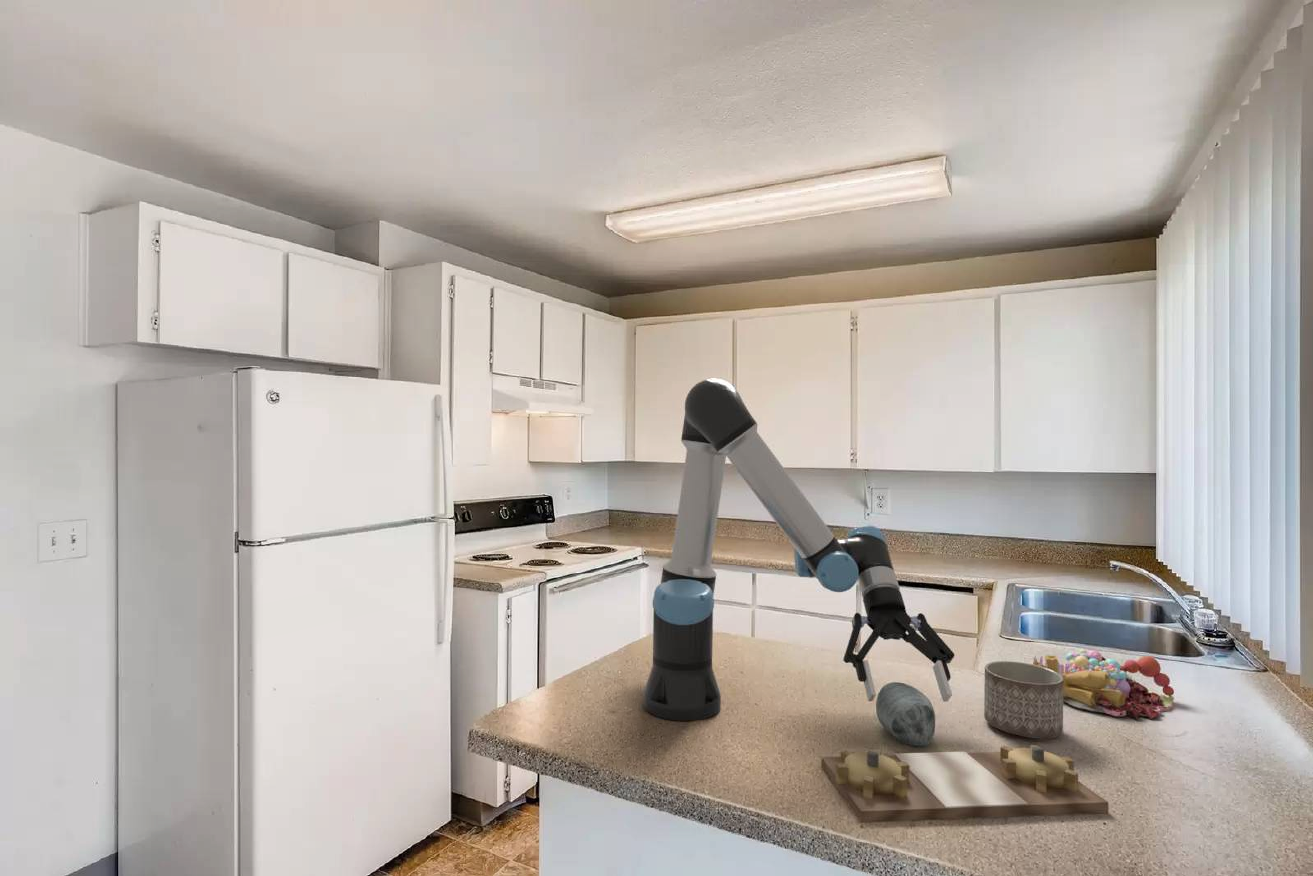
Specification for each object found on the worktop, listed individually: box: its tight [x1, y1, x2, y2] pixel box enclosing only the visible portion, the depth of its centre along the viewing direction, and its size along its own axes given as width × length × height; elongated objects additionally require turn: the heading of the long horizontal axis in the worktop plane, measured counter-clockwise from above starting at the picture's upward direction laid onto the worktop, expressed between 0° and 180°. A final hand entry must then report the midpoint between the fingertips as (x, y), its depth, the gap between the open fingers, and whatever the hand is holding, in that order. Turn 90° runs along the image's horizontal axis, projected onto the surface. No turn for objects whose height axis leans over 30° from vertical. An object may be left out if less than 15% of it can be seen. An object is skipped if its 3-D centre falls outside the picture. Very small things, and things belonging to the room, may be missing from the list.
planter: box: [983, 660, 1064, 739], centre depth 124 cm, size 13×13×10 cm
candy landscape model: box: [1032, 648, 1175, 720], centre depth 141 cm, size 25×24×9 cm
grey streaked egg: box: [875, 681, 936, 748], centre depth 120 cm, size 14×10×10 cm
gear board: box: [820, 744, 1109, 823], centre depth 101 cm, size 37×16×6 cm, turn 95°
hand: (910, 698), depth 121 cm, fingers open, 13 cm apart
